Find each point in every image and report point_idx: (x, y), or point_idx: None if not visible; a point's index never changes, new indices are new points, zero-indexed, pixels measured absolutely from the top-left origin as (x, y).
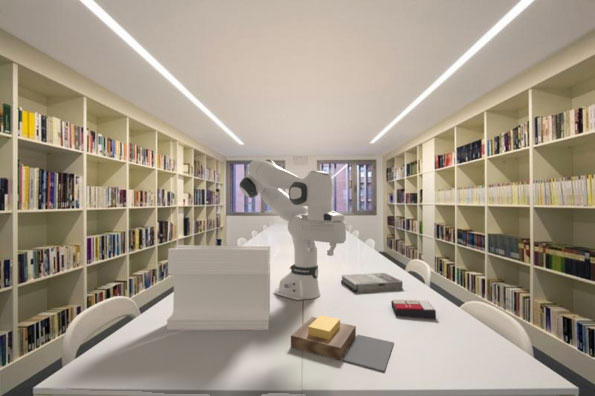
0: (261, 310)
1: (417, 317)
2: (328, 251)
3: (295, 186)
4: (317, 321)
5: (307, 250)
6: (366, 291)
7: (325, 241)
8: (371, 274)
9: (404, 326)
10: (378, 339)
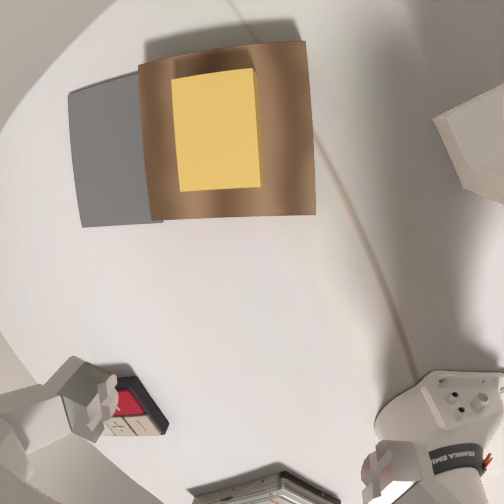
0: (493, 156)
1: None
2: (74, 391)
3: None
4: (242, 124)
5: (418, 452)
6: (259, 479)
7: (13, 482)
8: None
9: (100, 328)
10: (110, 223)
